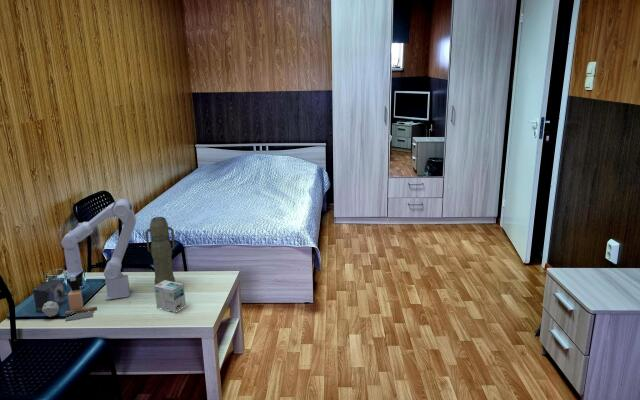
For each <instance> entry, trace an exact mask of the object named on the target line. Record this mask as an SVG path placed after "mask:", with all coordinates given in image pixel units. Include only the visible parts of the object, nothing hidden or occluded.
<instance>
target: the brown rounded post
mask: <svg viewBox="0 0 640 400" xmlns="http://www.w3.org/2000/svg"><path fill="white" fill-rule="evenodd" d="M169 230H170V231H169ZM169 232H171V233H169ZM148 233H150V239H151V243H150V244H149V234H148ZM169 234H171V240H170V236H169ZM145 239H146V247H147V252H149V253H150V254H151V258H152V260H153V261H152V262H153V268H154V269H153V270H154V286H155V285H156V284H158V283H160V282H162V281H164V280H167V281H171V282H176V279H175V278H176V277H175V275H174V270H173V259H172V256H173V250H174V249H175V248H176V245H175V244H176V243H175V231H174V229H173V228H172V226H169V225H168V221H167V219H166V217H164V216H155V217H153V218H151V219H150V223H149V228H147V229H146V231H145Z"/></svg>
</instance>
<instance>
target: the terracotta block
mask: <svg viewBox="0 0 640 400" xmlns="http://www.w3.org/2000/svg"><path fill="white" fill-rule="evenodd" d="M67 299H68V304H69V311H71V310H78V309H84V307H83V305H84V299H83V294H82V289H81V288H80V290H73V291H72V290H69V292H68V293H67Z"/></svg>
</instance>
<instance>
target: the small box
mask: <svg viewBox="0 0 640 400" xmlns="http://www.w3.org/2000/svg"><path fill="white" fill-rule="evenodd" d="M32 292H33V298H34V303H35V304H34V305H35V311H36V312H38V311H39V313H44V312H43V311H42V308H43V305H44V304H45V303H47V302H48V301H52V302H56V303H57V304H58V305H60V306H62V303H63V304H64V303H66V302H67V300H66V293H65V287H64V281H63V280H60V279H49V280H48V281H45V282H43V283H41V284H39V285H38V286H36V287H35V288H32Z"/></svg>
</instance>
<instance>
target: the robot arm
mask: <svg viewBox="0 0 640 400" xmlns="http://www.w3.org/2000/svg"><path fill="white" fill-rule="evenodd" d="M133 207H134V206H133V204H132V203H131V202H130V200H128V199H126V198H118V199H117V200H116V201H115V202H112V203H110V204H109V205H108V206H107V207H105V208H103V210H101V211H100V212H99V213H97V214H96V215H95V216H94V217H93V218H91V219H90V220H89V221H83V222H79V223H78V224H77V226H76V227H75V228H73V229H72V230H69V231H68V233H66V234H65V235H64V236H63V238H62V239H61V242H60V243H61V246H62V248H63V250H64V251H63V252H64V259H65V266H66V270H65V271H64V275H65V274H67V275H68V276H69V278H66V280H65V281H66V283H67V284H68V286H69V287H70V289H71V291H73V290H80V289H81V287H83V276H84V272H85V268H83V265H82V259H81V252H80V248H79V243H80V242H82V241H83V240H84V239H86V238H87V237H89V236H90V235H91V234H93V233H94V229H95V227H96V226H98V225H100V224H101V223H103V222H104V221H105V220H106V219H108V218H112V219H113V218H115V217H117V218H118V219H119V220H120V221H121V222H122V223H123V225H122V229H121V231H120V233H119V237H118V240H117V241H116V245H115V248H114V250H113V253H112V255H111V257H110V260H108V261H107V262H106V266H105V268H104V270H103V276H104V281H105V287H106V288H105V289H106V297H105V300H107V301H108V300H115V299H122V298H127V297H130V292H131V287H130V281H129V275H128V274H123V273H122V271H121V269H122V261H123V259H124V256H125V253H126V250H127V248H128V246H129V243H130V239H131V237H132V235H133V232H134V229H135V226H136V224H137V218H136V216H135V215H136V214H135V211H134V208H133Z"/></svg>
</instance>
